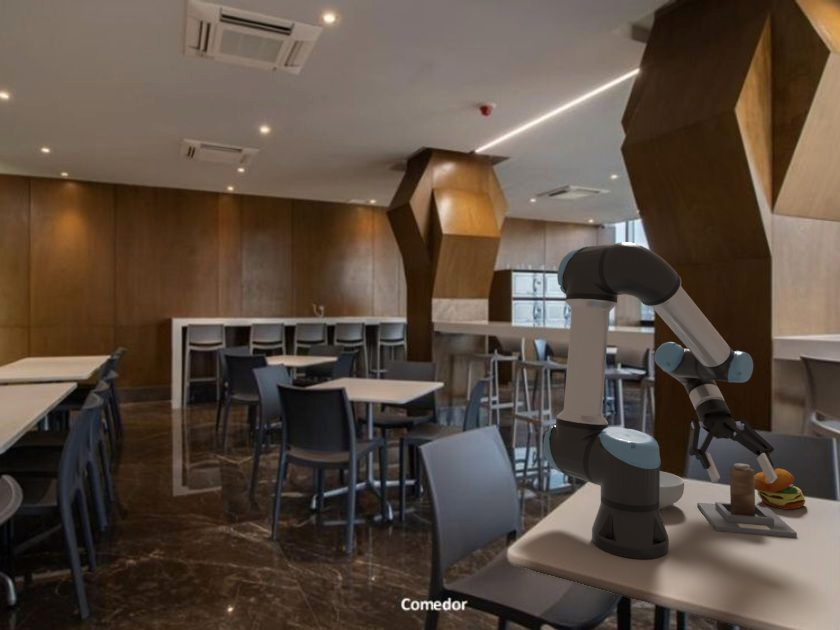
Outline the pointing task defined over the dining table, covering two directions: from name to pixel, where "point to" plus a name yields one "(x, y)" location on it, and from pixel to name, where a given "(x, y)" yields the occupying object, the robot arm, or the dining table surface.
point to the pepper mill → (742, 490)
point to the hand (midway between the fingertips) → (745, 480)
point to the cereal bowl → (670, 489)
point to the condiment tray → (745, 520)
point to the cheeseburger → (779, 490)
